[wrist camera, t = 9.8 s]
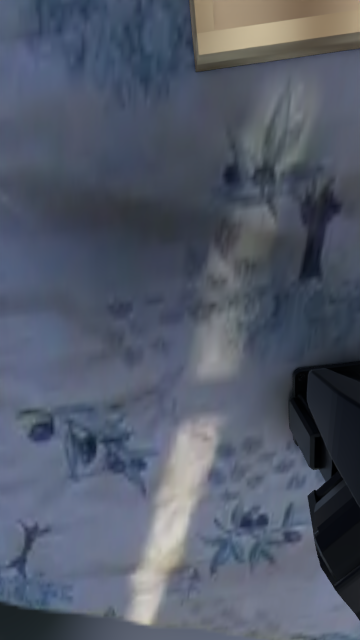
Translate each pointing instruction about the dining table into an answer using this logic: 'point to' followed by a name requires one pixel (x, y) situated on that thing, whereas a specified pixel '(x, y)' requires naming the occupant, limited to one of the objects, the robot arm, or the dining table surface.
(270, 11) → the tray
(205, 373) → the dining table surface
